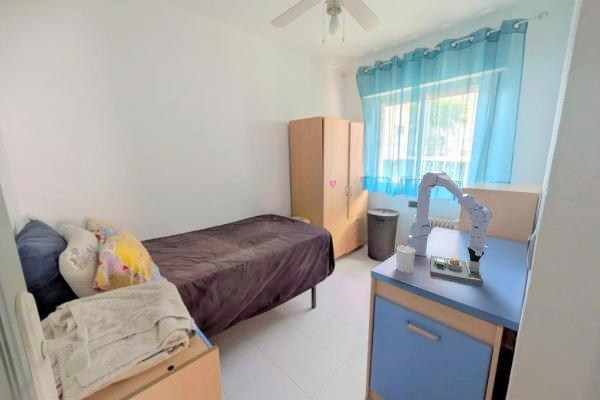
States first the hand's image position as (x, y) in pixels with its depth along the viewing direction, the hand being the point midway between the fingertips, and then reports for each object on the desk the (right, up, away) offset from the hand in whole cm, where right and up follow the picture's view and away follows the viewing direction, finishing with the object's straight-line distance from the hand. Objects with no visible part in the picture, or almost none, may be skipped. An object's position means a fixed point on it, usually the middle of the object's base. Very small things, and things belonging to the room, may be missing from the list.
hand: (473, 264), depth 107 cm
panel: (-6, -4, +4) cm, 8 cm away
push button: (-6, -1, +3) cm, 7 cm away
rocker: (-11, 0, +5) cm, 13 cm away
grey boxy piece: (-1, -2, -1) cm, 3 cm away
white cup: (-28, -4, +6) cm, 29 cm away
